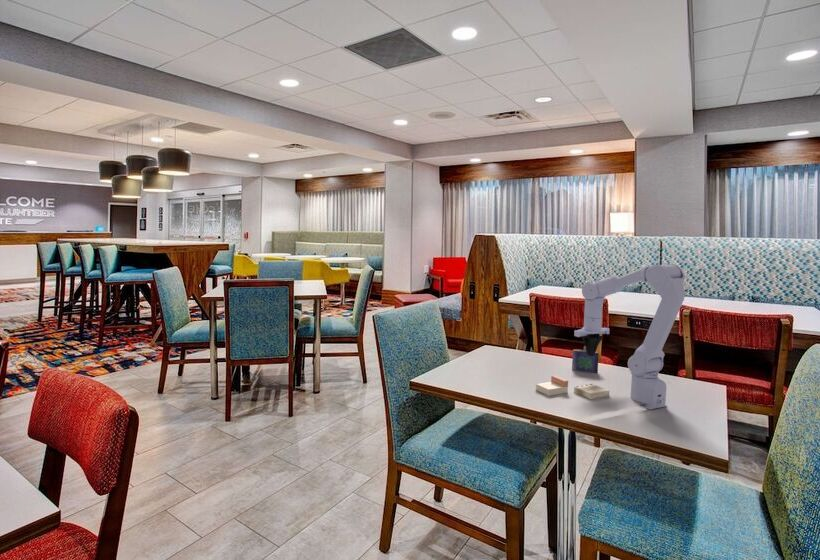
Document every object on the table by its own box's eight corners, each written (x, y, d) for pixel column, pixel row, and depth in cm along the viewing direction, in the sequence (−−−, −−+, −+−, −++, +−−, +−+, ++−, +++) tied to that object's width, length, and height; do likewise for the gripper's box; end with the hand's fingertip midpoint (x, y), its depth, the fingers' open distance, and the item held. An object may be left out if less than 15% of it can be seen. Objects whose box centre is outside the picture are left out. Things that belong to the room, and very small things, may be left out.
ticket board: (616, 399, 146) (616, 390, 146) (568, 408, 138) (568, 398, 138) (578, 384, 161) (578, 376, 160) (533, 391, 152) (533, 382, 152)
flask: (571, 373, 175) (572, 345, 174) (572, 371, 177) (573, 344, 176) (597, 376, 171) (599, 348, 170) (597, 374, 173) (599, 346, 172)
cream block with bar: (567, 392, 149) (568, 380, 148) (548, 395, 145) (548, 383, 145) (554, 386, 154) (555, 375, 154) (535, 389, 151) (536, 378, 150)
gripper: (599, 314, 166) (597, 350, 167) (568, 316, 160) (566, 354, 161) (615, 317, 160) (612, 355, 161) (584, 319, 153) (581, 359, 155)
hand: (590, 355), depth 161 cm, fingers closed
